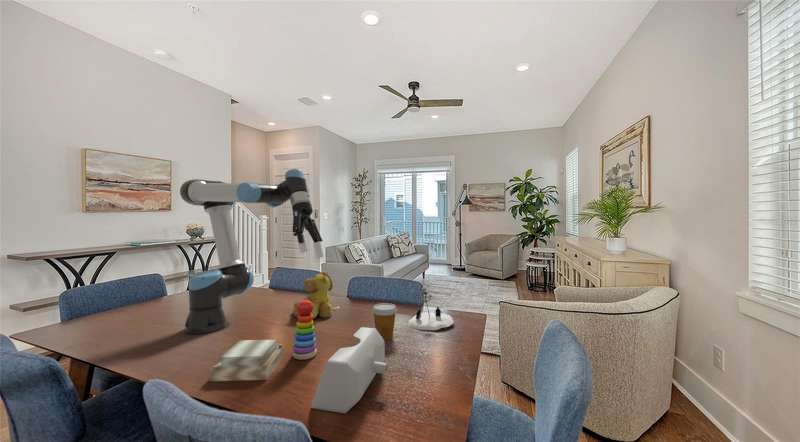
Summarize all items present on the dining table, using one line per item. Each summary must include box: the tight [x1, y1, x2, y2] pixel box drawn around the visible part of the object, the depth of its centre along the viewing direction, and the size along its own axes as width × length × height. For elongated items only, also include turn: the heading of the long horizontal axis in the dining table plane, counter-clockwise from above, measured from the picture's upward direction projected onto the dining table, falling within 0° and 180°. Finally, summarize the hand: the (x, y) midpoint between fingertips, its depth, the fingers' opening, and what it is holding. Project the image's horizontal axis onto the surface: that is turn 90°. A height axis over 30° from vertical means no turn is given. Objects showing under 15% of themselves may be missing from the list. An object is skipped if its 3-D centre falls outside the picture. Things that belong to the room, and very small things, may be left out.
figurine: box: [408, 287, 454, 331], centre depth 135 cm, size 20×18×16 cm
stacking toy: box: [291, 299, 318, 361], centre depth 105 cm, size 8×8×19 cm
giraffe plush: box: [292, 271, 341, 321], centre depth 150 cm, size 20×24×19 cm
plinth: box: [209, 339, 286, 382], centre depth 97 cm, size 16×16×6 cm
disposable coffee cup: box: [371, 302, 398, 341], centre depth 120 cm, size 10×10×12 cm
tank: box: [310, 326, 389, 414], centre depth 86 cm, size 25×16×12 cm, turn 166°
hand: (312, 254), depth 118 cm, fingers open, 13 cm apart
